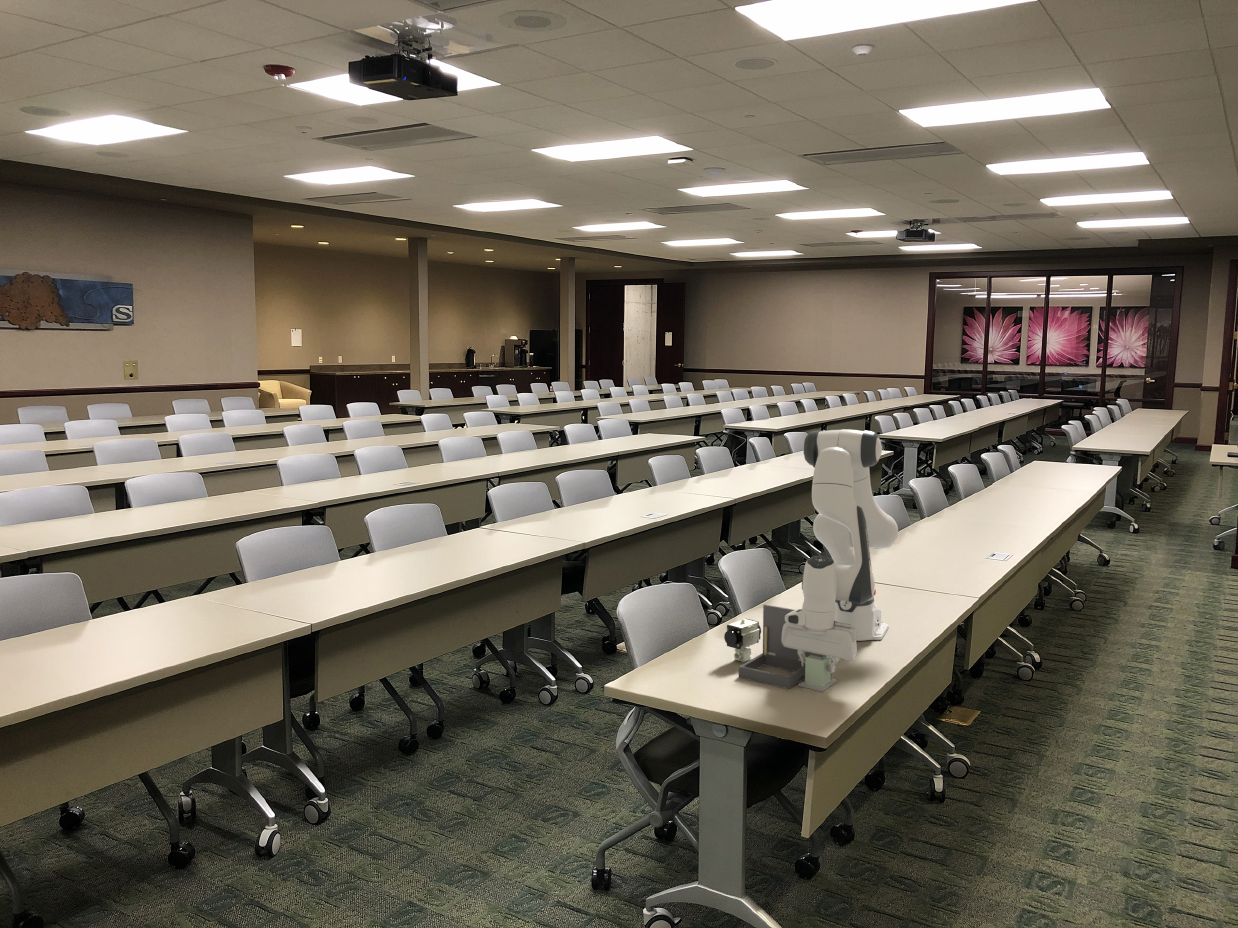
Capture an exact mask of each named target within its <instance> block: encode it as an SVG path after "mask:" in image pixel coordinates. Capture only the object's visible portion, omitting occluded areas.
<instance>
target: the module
mask: <svg viewBox="0 0 1238 928" xmlns="http://www.w3.org/2000/svg"><path fill="white" fill-rule="evenodd" d="M829 664H832V660H831V656H826V655H821V654H816V653H812V654H811V655H809V656H807V657H806V663H805V679H804V680H805V683H807V684H811V685H816V686H820V687H824V686H825V685H826V684H828V683H829V682H830V680H831V679H832V678H831V677H832V676H831V675H832V673H831V672H828V671H827V670H828V668H827V666H828V665H829Z"/></svg>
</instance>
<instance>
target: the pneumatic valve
mask: <svg viewBox="0 0 1238 928" xmlns="http://www.w3.org/2000/svg"><path fill="white" fill-rule="evenodd" d="M761 633H762V627H761V626H760V622H759V621H757V620H753V619H749V618H743V619H740V620H738V621H735V622H732V623H728V624H727V625H726V632H725V633H724V635H723V639H724V642H725V643H726V647H729V648H733V649H734V653H733V657H734V658H733V659H734V660H735V661H739V662H741V663H746V662H748V661H750V660H751V659H752V657H751V655H752V648H750V646H753V645H756V644H759V642H760V640H761Z"/></svg>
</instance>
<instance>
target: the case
mask: <svg viewBox="0 0 1238 928" xmlns="http://www.w3.org/2000/svg"><path fill="white" fill-rule="evenodd" d="M762 605H763V606H762V608H763V609H762V615H763V616H762V652H761V653H760V654H759V655H757V656H755V657H753V658H751V659H750V660H748V661H746V662H743V664H741V665H739V666H738V678H740V679H743V680H749V681H752V682H758V683H762V684H765V685H770V686H773V687H777V688H783V689H787V690H790V689H791V688H793V687H794V686H796V685H797V684H800V683H801V682H803V681H804V680H805V667H803V666H801V662H802V660H801V659H800V657H799V655H798V650H796V649H792V648H787V647H784V646H783V644H782V642H781V638H782V629H783V625H784V624H785V623H787V622H785V615H787V614H788V613H790V612H792V611H794V610H795V609H793V608H787V607H782V606H776V605H770V604H769V605H768V604H762ZM804 654H805V656H806V657H807V656H809V655H811V654H812V653H811V652H805V653H804ZM763 666H767V667H772V668H777V669H781V670H787V671H791V672H792V673H790V674H789V675H783V674H778V673H774V672H771V671H765V670H761V669H760V668H761V667H763Z"/></svg>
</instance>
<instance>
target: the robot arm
mask: <svg viewBox="0 0 1238 928" xmlns="http://www.w3.org/2000/svg"><path fill="white" fill-rule="evenodd" d="M880 438H881V437H880V436H879V435H878V434H877V433H876V432H875V431H871V430H866V429H865V430H858V429H850V428H849V429H830V430H821V429H820V430H818V429H817V430H814V431H811V432H809V433H808V434H807V435H806V436H805V437H804V441H803V445H802V451H803V457H804V460H805V461H806V463H807V464H808V465H810V466H812V467H813V468H814V470H813V476H812V485H811V502H812V506H813V507H814V509H815V511H816V512H817V513H818V514H817V515H816V516H815V518H814V520H813V525H812V527H813V528H812V530H813V535H814V536H815V537H816V540H817V541H819V542H820V543H821V544H823V546H824V547H825V548H826V550H827V551H828V552H829V555H830V556H831V557H829V556H825V555H815V556H811V557H809V558H808V559H807V560H806V562H805V563H804V564H805V565H804V571H803V572H802V575H801V590H802V593H803V602H802V605H801V607H802V608H799V609H794V611H792V612H790V613H788V614H787V615H785V622H787V623H785V624H784V625H783V629H782V638H781V642H782V644H783V646H784V647H787V648H792V649H796V650H798V655H799V657H800V659H801V660H802V662H801V666H803V667H805V663H806V656H805V654H804V653H805V652H811V653H816V654H821V655H826V656H831V664H829V665H828V666H827V668H828V670H827V671H828V672H831V674H834V673H835V671H836V665H837V664H838V662H839V661H840V659H841V660H846V661H850V660H851V661H852V660H853V659H854V658H855V657H856V656H857V654H858V647H857V646H858V645H857V641H859V642H860V641H861V642H862V641H870V640H871V641H874V640H875V641H879V640H880V641H881V640H883V638H884V637H885V634H886V633H887V631H888V629H889V628H890V627H889V624H888V623H885V622H882V610H881V608H880V607H878V606H877V604H876V603H875V598H874V597H875V596H876V595H877V589H876V582H875V576H874V573H873V567H872V560H871V553H870V550H871V549H872V550H876V549H887V548H888V549H889V548H891V547H892V546H893V545H894V544H895V542H897V539H898V536H899V527H898V523H897V522H896V520H895V519H894V517H892V516H891V515H889V514H888V513H886V512H885V511H884V510H883V509H882V508H881V507H880V505H879V504H878V502H877V501H876V500H875V498H874V495H873V490H872V486H871V485H872V484H871V475H870V473H871V472H870V467H874V466H875V465H877V463H879V461H880V458H881V456H882V450H883V447H882V446H883V445H882V442H881V439H880Z"/></svg>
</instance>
